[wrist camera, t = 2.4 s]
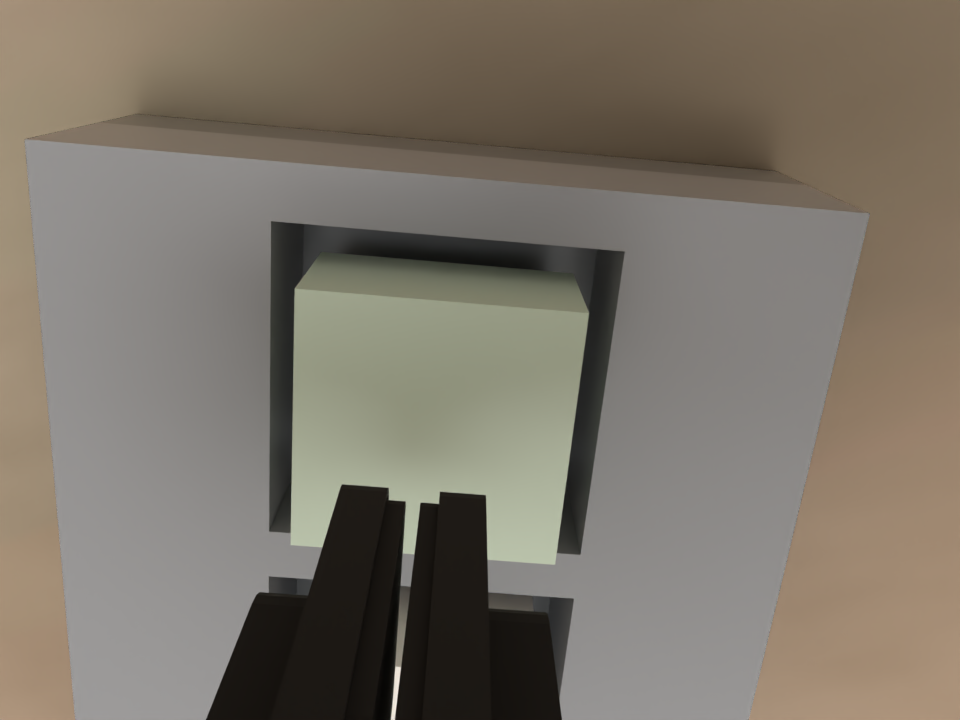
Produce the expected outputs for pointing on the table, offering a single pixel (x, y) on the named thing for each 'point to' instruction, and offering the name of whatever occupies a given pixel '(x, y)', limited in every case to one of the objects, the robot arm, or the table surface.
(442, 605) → the robot arm
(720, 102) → the table surface
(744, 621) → the key console
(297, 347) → the sage key
